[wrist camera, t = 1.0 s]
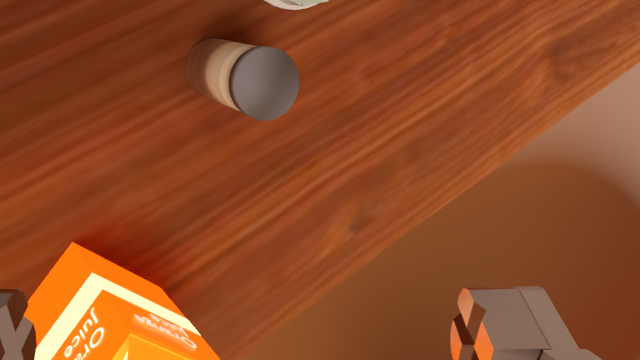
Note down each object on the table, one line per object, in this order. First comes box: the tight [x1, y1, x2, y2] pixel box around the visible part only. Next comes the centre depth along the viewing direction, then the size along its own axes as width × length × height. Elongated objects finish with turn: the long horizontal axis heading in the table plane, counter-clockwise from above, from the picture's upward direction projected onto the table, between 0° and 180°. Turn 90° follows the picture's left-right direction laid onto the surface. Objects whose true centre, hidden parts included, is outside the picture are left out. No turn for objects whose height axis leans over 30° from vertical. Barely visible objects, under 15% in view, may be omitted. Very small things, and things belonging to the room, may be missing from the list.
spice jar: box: [185, 38, 299, 121], centre depth 43 cm, size 5×5×9 cm
